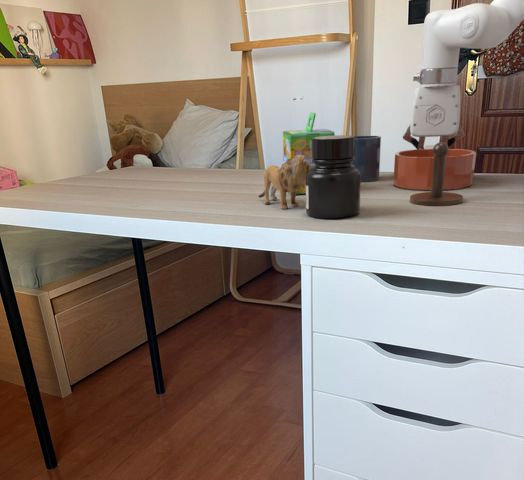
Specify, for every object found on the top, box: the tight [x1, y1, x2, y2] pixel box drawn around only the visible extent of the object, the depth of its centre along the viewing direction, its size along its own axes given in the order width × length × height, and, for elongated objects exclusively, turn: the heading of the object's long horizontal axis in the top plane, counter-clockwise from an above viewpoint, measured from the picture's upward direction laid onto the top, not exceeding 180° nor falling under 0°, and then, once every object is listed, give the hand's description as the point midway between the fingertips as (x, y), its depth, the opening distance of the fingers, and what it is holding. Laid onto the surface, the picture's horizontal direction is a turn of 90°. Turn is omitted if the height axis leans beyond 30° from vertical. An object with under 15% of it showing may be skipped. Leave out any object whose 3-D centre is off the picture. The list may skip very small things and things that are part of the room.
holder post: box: [409, 141, 464, 207], centre depth 92 cm, size 9×9×10 cm
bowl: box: [392, 144, 477, 191], centre depth 111 cm, size 16×23×6 cm
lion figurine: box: [258, 155, 312, 210], centre depth 96 cm, size 15×5×9 cm, turn 36°
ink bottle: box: [305, 134, 362, 219], centre depth 86 cm, size 10×9×12 cm
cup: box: [351, 135, 382, 183], centre depth 118 cm, size 8×8×9 cm
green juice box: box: [282, 112, 336, 195], centre depth 107 cm, size 9×9×15 cm
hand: (430, 168), depth 120 cm, fingers closed on bowl, 3 cm apart
